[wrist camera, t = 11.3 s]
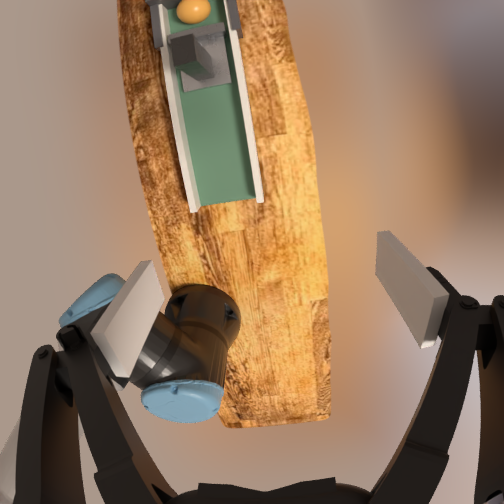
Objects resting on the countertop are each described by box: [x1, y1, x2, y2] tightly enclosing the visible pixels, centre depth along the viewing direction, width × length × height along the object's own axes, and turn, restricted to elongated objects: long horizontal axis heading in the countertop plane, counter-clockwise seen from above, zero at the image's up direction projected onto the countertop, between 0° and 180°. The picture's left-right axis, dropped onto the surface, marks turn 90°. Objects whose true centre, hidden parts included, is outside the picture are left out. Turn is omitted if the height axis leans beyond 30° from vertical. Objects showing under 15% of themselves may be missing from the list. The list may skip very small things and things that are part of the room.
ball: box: [176, 0, 211, 24], centre depth 29 cm, size 5×5×5 cm
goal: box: [145, 0, 243, 52], centre depth 30 cm, size 9×12×7 cm
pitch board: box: [159, 0, 264, 213], centre depth 36 cm, size 36×11×4 cm, turn 9°
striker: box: [168, 22, 232, 93], centre depth 29 cm, size 9×8×13 cm
